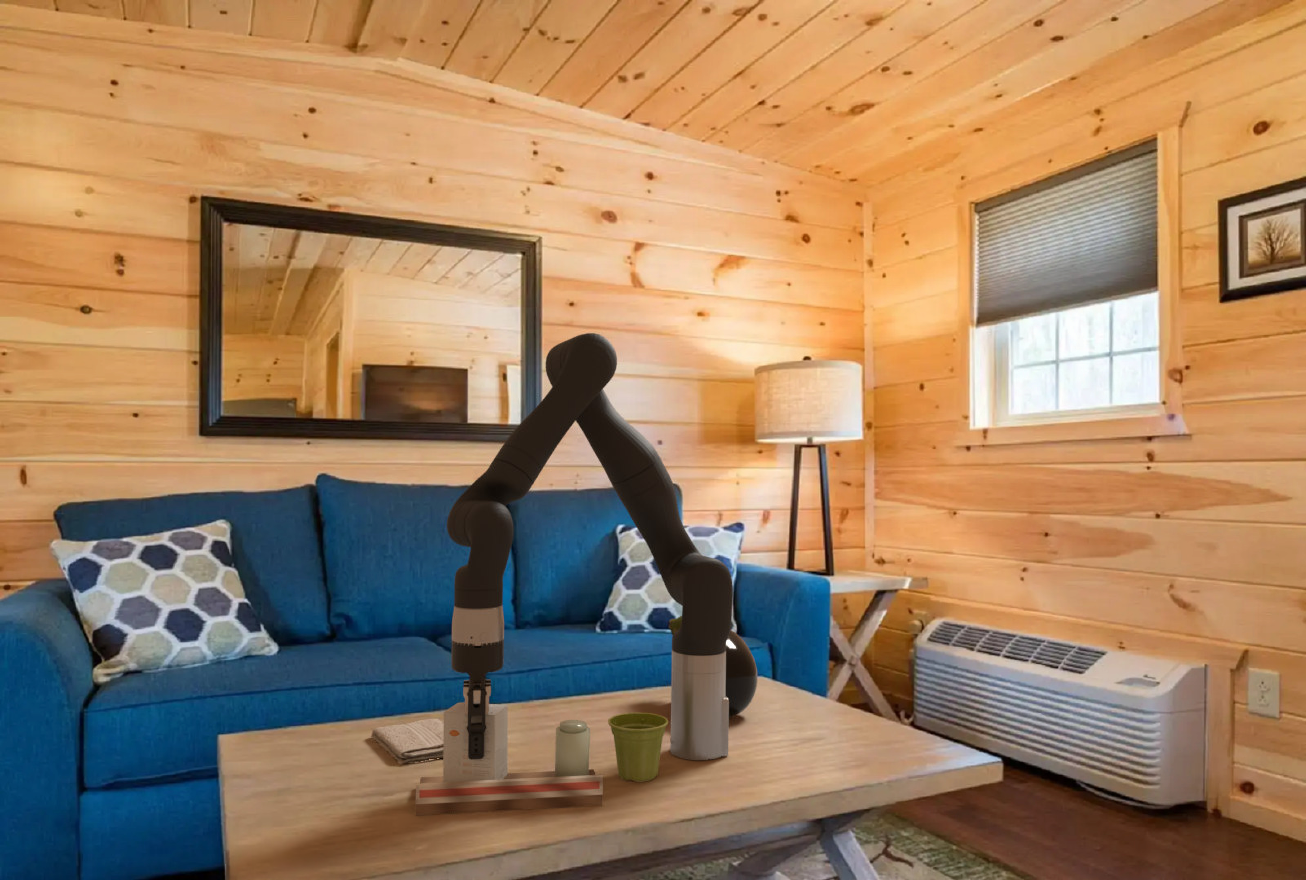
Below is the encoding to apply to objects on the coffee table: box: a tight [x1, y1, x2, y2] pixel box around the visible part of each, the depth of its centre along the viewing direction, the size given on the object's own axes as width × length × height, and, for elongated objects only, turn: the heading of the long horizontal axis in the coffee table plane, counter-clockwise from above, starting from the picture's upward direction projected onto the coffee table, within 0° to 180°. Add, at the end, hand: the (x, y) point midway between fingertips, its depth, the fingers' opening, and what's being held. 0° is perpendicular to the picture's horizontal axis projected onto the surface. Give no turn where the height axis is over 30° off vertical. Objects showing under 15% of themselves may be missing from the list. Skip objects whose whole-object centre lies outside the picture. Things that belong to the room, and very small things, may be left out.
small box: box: [442, 701, 509, 782], centre depth 135 cm, size 8×6×10 cm
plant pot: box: [607, 712, 669, 783], centre depth 145 cm, size 9×9×9 cm
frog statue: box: [667, 615, 758, 718], centre depth 186 cm, size 19×16×25 cm
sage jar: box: [554, 719, 591, 777], centre depth 137 cm, size 5×5×9 cm
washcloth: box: [370, 717, 444, 765], centre depth 159 cm, size 12×18×3 cm, turn 33°
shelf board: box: [414, 768, 604, 816], centre depth 136 cm, size 26×11×4 cm, turn 100°
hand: (476, 749), depth 135 cm, fingers closed on small box, 7 cm apart
